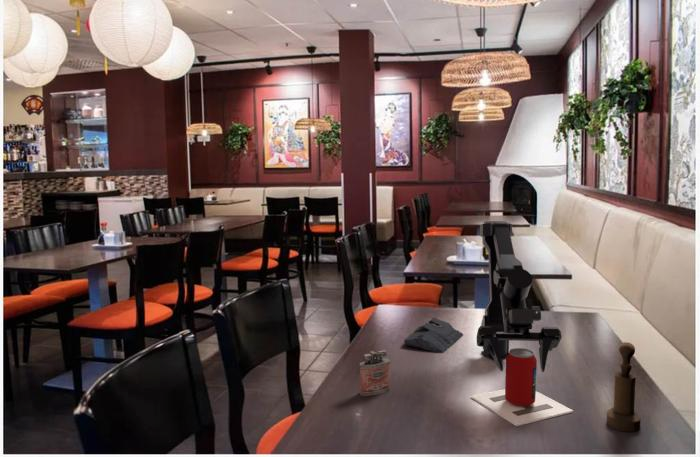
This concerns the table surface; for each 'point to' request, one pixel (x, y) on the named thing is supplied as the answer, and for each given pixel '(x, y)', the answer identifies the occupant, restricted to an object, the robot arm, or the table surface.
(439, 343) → the dark slate chunk
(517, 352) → the beverage can
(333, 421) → the table surface
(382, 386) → the lighter
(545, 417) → the letter mat
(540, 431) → the table surface
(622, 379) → the brown knobbed pedestal
